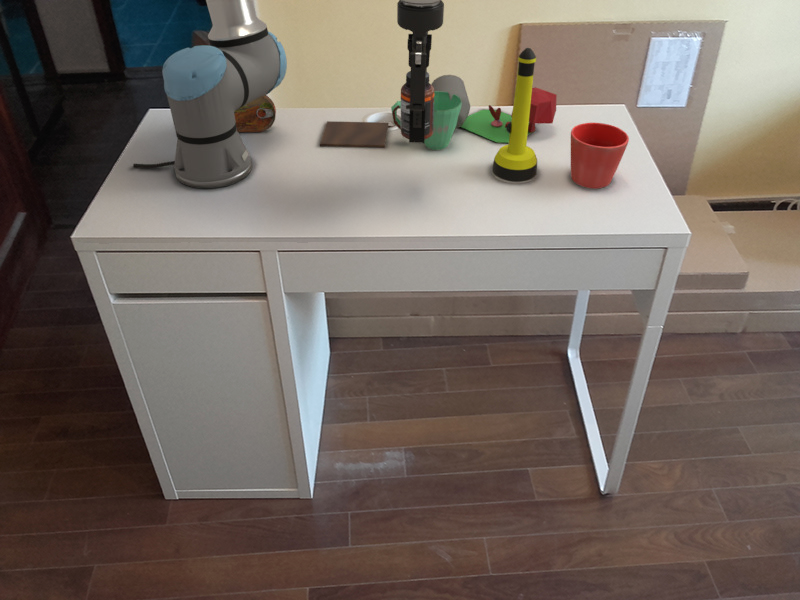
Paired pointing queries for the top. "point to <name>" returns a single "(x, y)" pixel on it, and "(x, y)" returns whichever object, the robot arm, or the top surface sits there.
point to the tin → (255, 115)
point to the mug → (438, 119)
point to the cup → (456, 87)
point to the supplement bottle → (428, 104)
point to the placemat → (355, 134)
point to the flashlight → (519, 130)
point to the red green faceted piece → (496, 122)
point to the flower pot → (596, 153)
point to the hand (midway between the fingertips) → (417, 132)
